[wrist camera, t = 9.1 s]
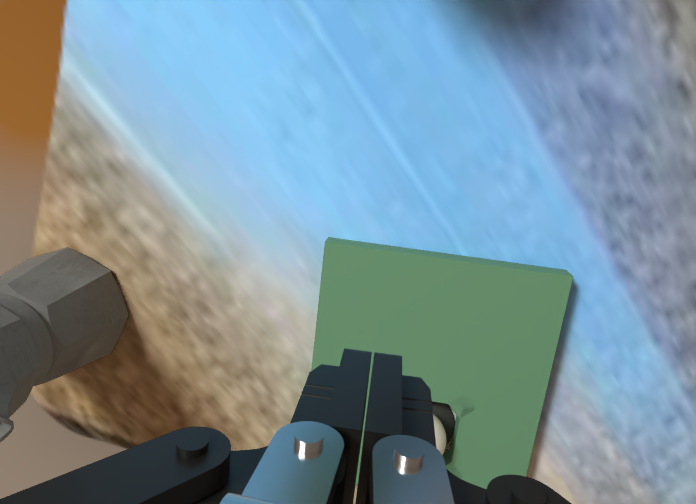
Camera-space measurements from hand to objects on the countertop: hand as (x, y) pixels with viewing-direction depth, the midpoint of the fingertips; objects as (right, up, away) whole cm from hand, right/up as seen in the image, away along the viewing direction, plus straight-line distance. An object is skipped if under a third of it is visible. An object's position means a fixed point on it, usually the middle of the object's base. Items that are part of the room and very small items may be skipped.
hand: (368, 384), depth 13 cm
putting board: (+5, -5, +24) cm, 25 cm away
